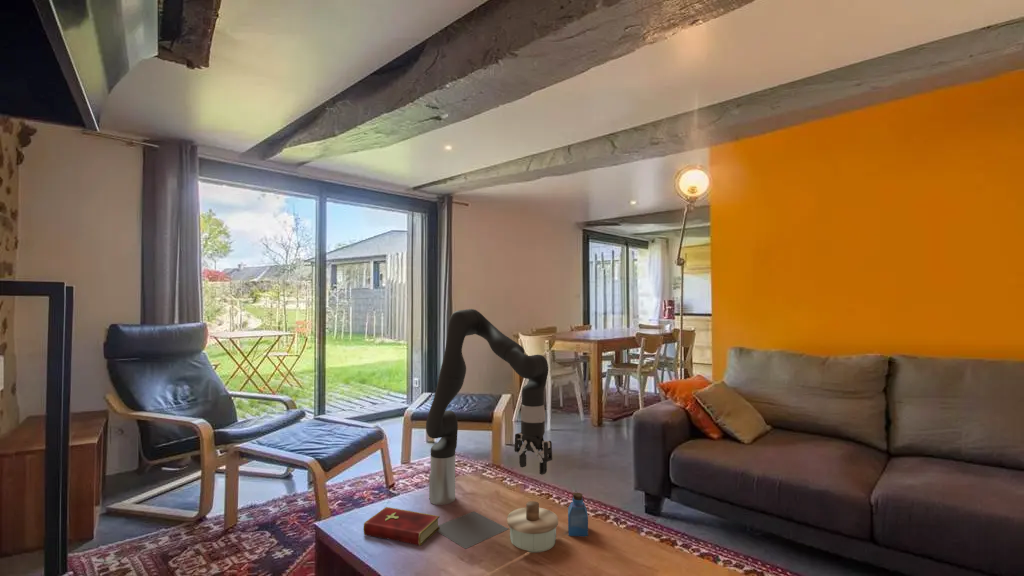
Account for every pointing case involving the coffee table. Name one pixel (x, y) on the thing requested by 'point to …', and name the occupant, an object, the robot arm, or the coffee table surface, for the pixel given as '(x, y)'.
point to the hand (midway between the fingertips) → (532, 470)
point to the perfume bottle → (577, 517)
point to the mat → (470, 529)
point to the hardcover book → (402, 526)
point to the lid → (532, 519)
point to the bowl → (533, 540)
